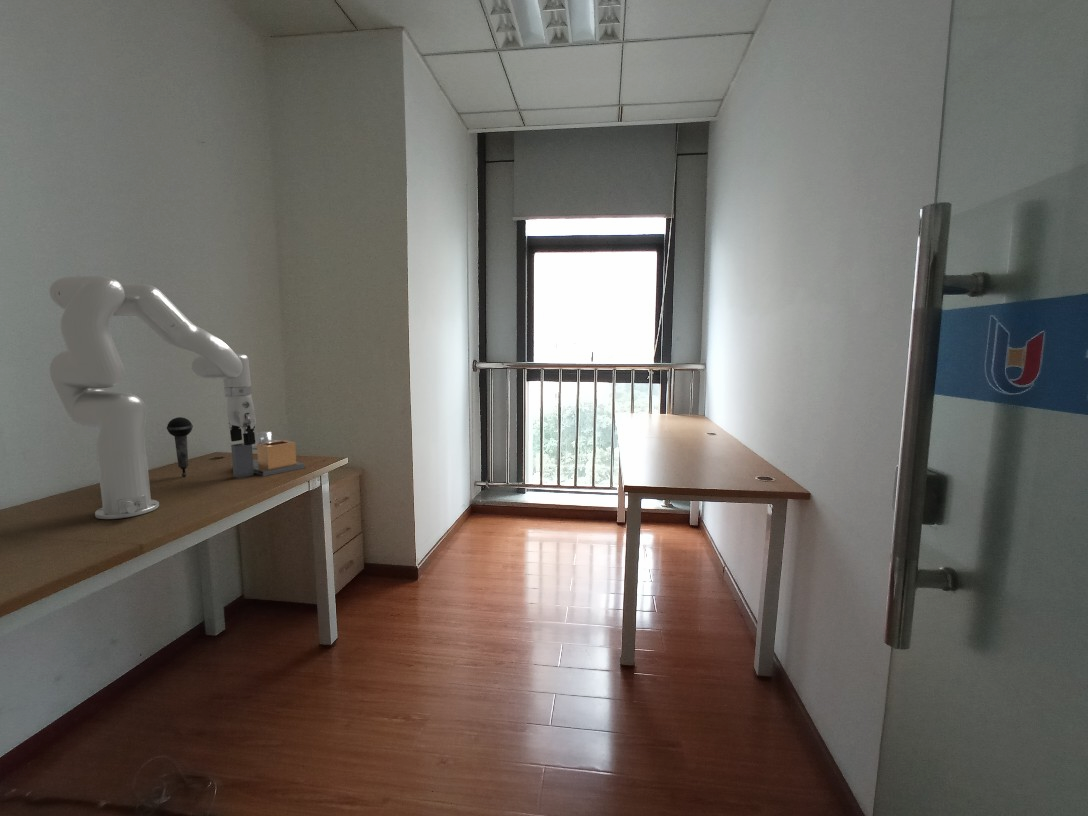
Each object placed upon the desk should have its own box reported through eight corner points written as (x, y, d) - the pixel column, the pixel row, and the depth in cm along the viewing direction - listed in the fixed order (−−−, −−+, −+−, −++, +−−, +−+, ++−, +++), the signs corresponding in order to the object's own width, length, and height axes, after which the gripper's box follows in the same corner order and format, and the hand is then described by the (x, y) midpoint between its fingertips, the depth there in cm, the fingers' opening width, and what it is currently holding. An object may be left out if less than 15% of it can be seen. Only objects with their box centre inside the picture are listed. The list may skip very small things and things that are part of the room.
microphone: (198, 472, 161) (193, 415, 158) (195, 477, 155) (190, 418, 153) (172, 475, 157) (167, 416, 155) (169, 480, 152) (163, 419, 149)
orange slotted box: (304, 467, 169) (302, 433, 167) (263, 476, 158) (261, 439, 156) (277, 459, 181) (275, 427, 179) (237, 467, 169) (234, 433, 168)
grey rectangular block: (253, 475, 159) (251, 443, 157) (237, 478, 154) (235, 446, 153) (249, 474, 160) (247, 442, 159) (233, 477, 156) (231, 444, 155)
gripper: (262, 392, 152) (267, 444, 155) (239, 389, 162) (243, 437, 165) (237, 394, 146) (242, 448, 149) (214, 391, 156) (219, 441, 158)
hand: (243, 442), depth 157 cm, fingers open, 9 cm apart
